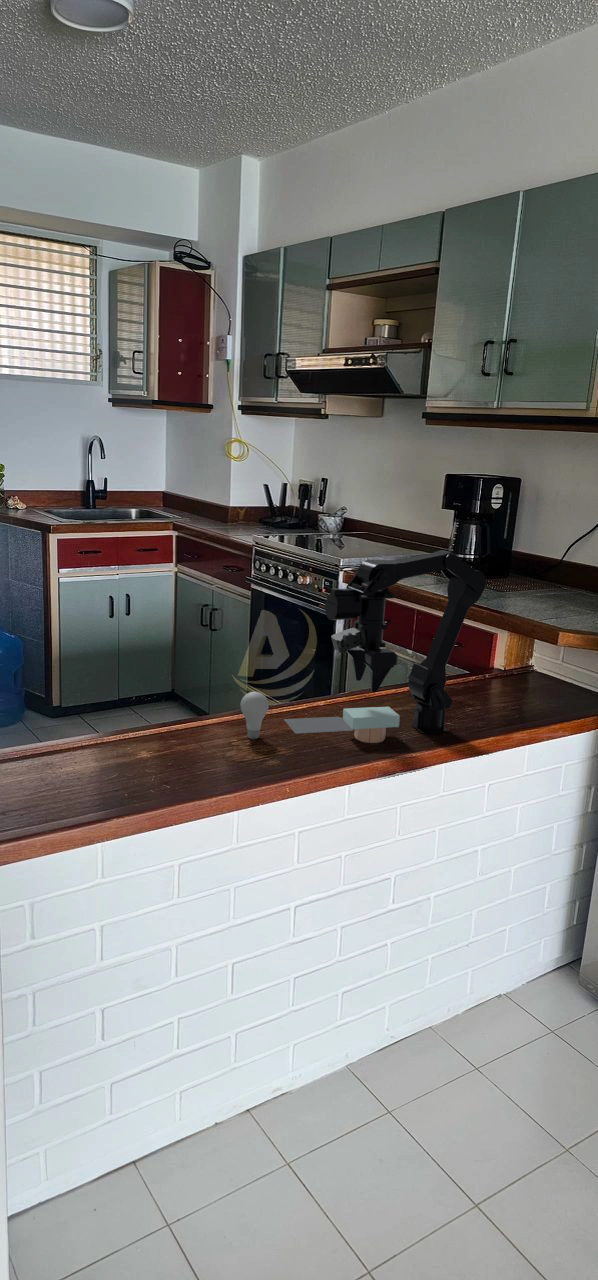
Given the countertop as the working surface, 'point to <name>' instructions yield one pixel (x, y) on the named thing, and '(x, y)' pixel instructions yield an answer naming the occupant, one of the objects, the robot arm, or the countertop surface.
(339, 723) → the mat
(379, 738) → the nut
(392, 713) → the pale teal block
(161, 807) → the countertop surface
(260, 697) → the lightbulb
